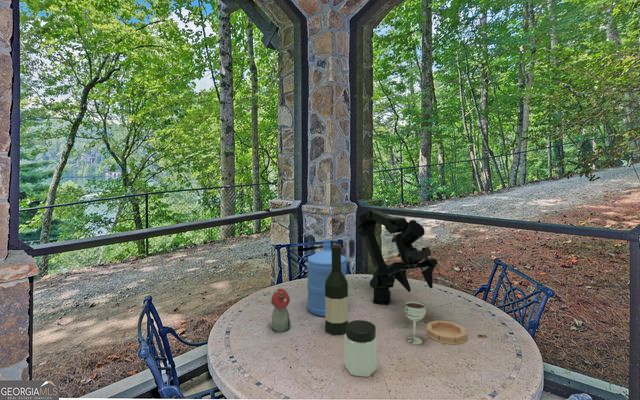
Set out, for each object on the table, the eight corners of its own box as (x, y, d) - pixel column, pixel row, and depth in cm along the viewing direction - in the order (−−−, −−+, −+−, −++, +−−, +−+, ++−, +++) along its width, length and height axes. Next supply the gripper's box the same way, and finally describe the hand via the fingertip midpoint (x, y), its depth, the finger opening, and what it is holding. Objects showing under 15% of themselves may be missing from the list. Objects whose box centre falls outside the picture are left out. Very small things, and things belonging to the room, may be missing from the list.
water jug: (301, 313, 127) (300, 242, 125) (316, 299, 141) (316, 235, 139) (339, 320, 121) (339, 245, 119) (351, 304, 135) (351, 237, 133)
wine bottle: (351, 326, 115) (351, 243, 113) (343, 337, 108) (343, 248, 106) (330, 322, 119) (329, 241, 117) (320, 332, 111) (320, 246, 109)
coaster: (425, 341, 105) (425, 335, 105) (425, 323, 118) (425, 318, 117) (469, 347, 101) (469, 340, 101) (464, 328, 114) (464, 322, 114)
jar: (357, 356, 97) (357, 316, 96) (381, 366, 92) (381, 324, 91) (339, 369, 90) (339, 327, 89) (364, 381, 85) (364, 337, 84)
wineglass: (422, 347, 101) (422, 310, 100) (400, 342, 105) (401, 305, 104) (427, 338, 107) (428, 302, 106) (407, 333, 110) (407, 298, 109)
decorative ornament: (286, 334, 110) (286, 291, 109) (268, 333, 111) (267, 290, 110) (292, 322, 119) (292, 282, 118) (275, 321, 120) (274, 281, 119)
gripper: (394, 241, 111) (410, 286, 104) (438, 237, 118) (456, 279, 111) (380, 254, 120) (393, 296, 113) (421, 249, 127) (437, 289, 120)
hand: (420, 289), depth 114 cm, fingers open, 9 cm apart
